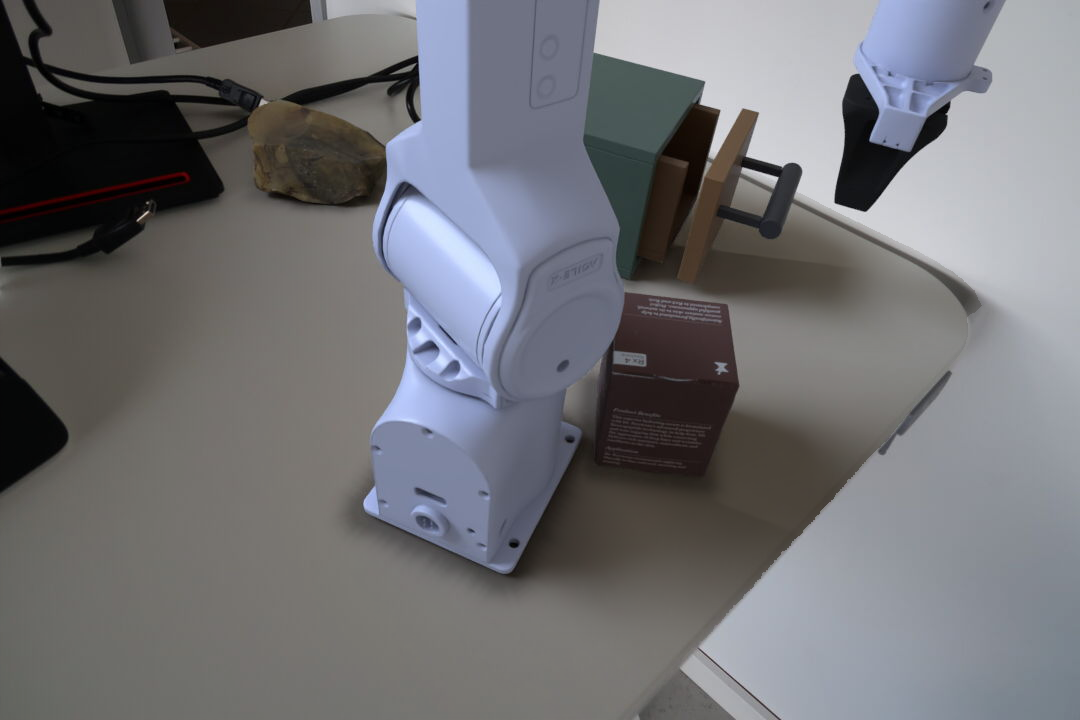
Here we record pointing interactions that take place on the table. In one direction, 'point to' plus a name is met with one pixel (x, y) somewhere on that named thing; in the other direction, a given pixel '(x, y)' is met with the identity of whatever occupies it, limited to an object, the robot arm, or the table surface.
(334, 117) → the decorative stone
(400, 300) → the table surface
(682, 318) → the box
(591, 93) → the cabinet
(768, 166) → the drawer
